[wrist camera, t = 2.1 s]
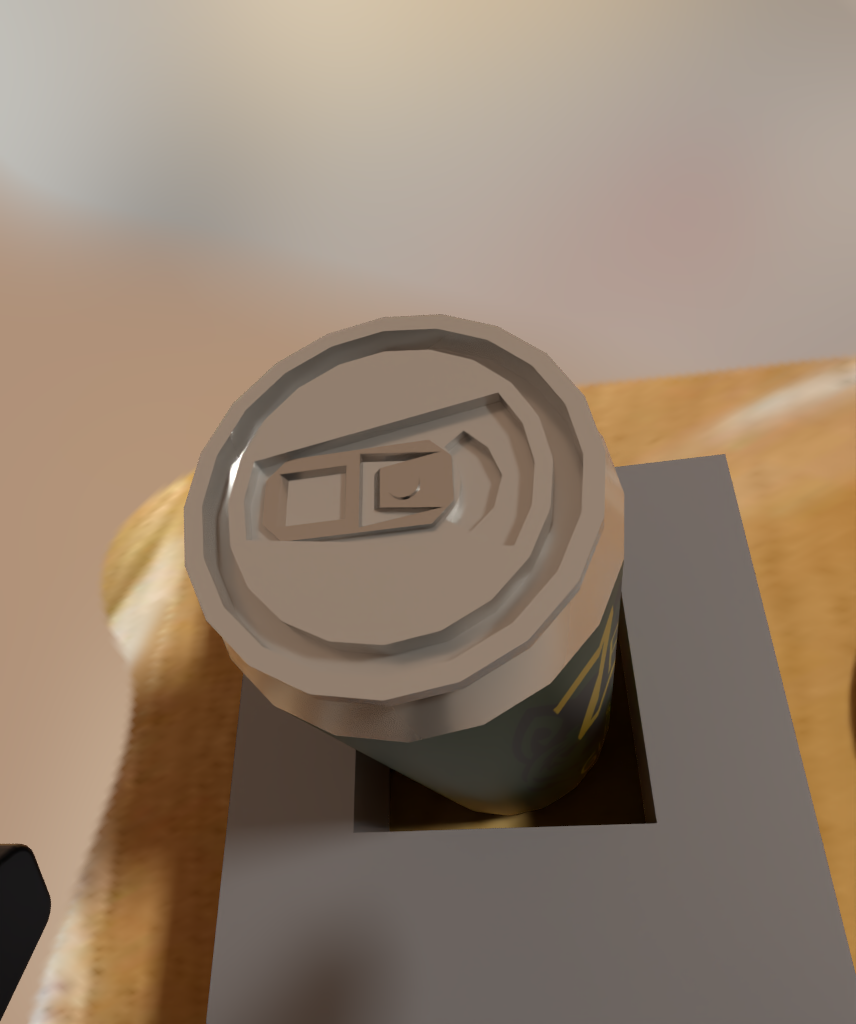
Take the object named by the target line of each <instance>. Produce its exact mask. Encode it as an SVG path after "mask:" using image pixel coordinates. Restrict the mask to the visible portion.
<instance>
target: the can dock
mask: <svg viewBox="0 0 856 1024" xmlns="http://www.w3.org/2000/svg"><path fill="white" fill-rule="evenodd" d="M614 468H615V470H616V473H617V476H618V478H619V481H620V483H621V486H622V489H623V491H624V565H623V576H622V588H621V599H620V610H619V622H618V636H619V643H620V650H621V657H622V663H623V670H624V677H625V684H626V691H627V697H628V704H629V711H630V718H631V725H632V731H633V738H634V745H635V752H636V758H637V765H638V772H639V779H640V786H641V792H642V799H643V806H644V813H645V820H646V824H619V825H587V826H556V827H524V828H492V829H461V830H429V831H398V832H389V817H390V768H389V767H388V766H386V765H384V764H382V763H380V762H378V761H376V760H375V759H373V758H371V757H369V756H367V755H365V754H363V753H361V752H360V751H358V750H356V749H354V748H352V747H350V746H348V745H346V744H345V743H343V742H341V741H339V740H337V739H335V738H333V737H332V736H330V735H328V734H326V733H324V732H322V731H320V730H318V729H317V728H315V727H313V726H311V725H309V724H307V723H305V722H304V721H302V720H300V719H298V718H296V717H294V716H292V715H290V714H289V713H287V712H285V711H283V710H281V709H279V708H277V707H275V706H274V705H273V704H272V703H271V702H270V701H269V700H268V699H267V698H266V697H265V696H264V695H263V693H262V692H261V691H260V690H259V689H258V688H257V687H256V686H255V685H254V684H253V683H252V682H251V681H250V679H249V678H248V677H247V676H246V675H245V674H244V673H243V680H242V689H241V698H240V708H239V717H238V727H237V736H236V746H235V755H234V764H233V774H232V783H231V793H230V802H229V811H228V821H227V830H226V840H225V849H224V858H223V868H222V877H221V887H220V896H219V906H218V915H217V924H216V934H215V943H214V953H213V962H212V971H211V981H210V990H209V1000H208V1009H207V1019H206V1024H856V974H855V970H854V966H853V962H852V958H851V954H850V950H849V946H848V942H847V938H846V934H845V930H844V926H843V922H842V918H841V914H840V910H839V906H838V902H837V898H836V894H835V890H834V886H833V882H832V878H831V874H830V870H829V866H828V862H827V859H826V855H825V851H824V847H823V843H822V839H821V835H820V831H819V827H818V823H817V819H816V815H815V811H814V807H813V803H812V799H811V795H810V791H809V787H808V783H807V779H806V775H805V771H804V767H803V763H802V759H801V755H800V751H799V747H798V743H797V739H796V735H795V731H794V727H793V723H792V719H791V715H790V711H789V707H788V703H787V699H786V695H785V691H784V687H783V683H782V679H781V675H780V671H779V667H778V663H777V659H776V655H775V651H774V647H773V643H772V639H771V635H770V631H769V627H768V623H767V620H766V616H765V612H764V608H763V604H762V600H761V596H760V592H759V588H758V584H757V580H756V576H755V572H754V568H753V564H752V560H751V556H750V552H749V548H748V544H747V540H746V536H745V532H744V528H743V524H742V520H741V516H740V512H739V508H738V504H737V500H736V496H735V492H734V488H733V484H732V480H731V476H730V472H729V468H728V464H727V460H726V456H725V454H722V455H714V456H705V457H697V458H688V459H680V460H672V461H663V462H655V463H646V464H638V465H629V466H621V467H614Z"/></svg>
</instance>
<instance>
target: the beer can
mask: <svg viewBox="0 0 856 1024" xmlns="http://www.w3.org/2000/svg"><path fill="white" fill-rule="evenodd" d="M184 543H185V567H186V570H187V572H188V575H189V578H190V580H191V583H192V585H193V588H194V590H195V593H196V596H197V598H198V601H199V603H200V606H201V608H202V611H203V614H204V616H205V619H206V621H207V622H208V623H209V624H210V625H211V626H212V627H213V628H214V629H215V630H216V631H217V632H218V633H219V635H220V636H221V637H222V638H223V641H224V643H225V646H226V649H227V651H228V654H229V656H230V659H231V660H232V661H233V662H234V663H235V664H236V665H237V666H238V668H239V669H240V670H241V671H242V672H243V673H244V674H245V675H246V676H247V677H248V678H249V679H250V681H251V682H252V683H253V684H254V685H255V686H256V687H257V688H258V689H259V690H260V691H261V692H262V693H263V695H264V696H265V697H266V698H267V699H268V700H269V701H270V702H271V703H272V704H273V705H274V706H275V707H277V708H279V709H281V710H283V711H285V712H287V713H289V714H290V715H292V716H294V717H296V718H298V719H300V720H302V721H304V722H305V723H307V724H309V725H311V726H313V727H315V728H317V729H318V730H320V731H322V732H324V733H326V734H328V735H330V736H332V737H333V738H335V739H337V740H339V741H341V742H343V743H345V744H346V745H348V746H350V747H352V748H354V749H356V750H358V751H360V752H361V753H363V754H365V755H367V756H369V757H371V758H373V759H375V760H376V761H378V762H380V763H382V764H384V765H386V766H388V767H389V768H391V769H393V770H395V771H397V772H399V773H401V774H403V775H404V776H406V777H408V778H410V779H412V780H414V781H416V782H417V783H419V784H421V785H423V786H425V787H427V788H429V789H431V790H432V791H434V792H436V793H438V794H440V795H442V796H444V797H446V798H448V799H450V800H452V801H454V802H456V803H458V804H460V805H462V806H464V807H466V808H468V809H470V810H472V811H475V812H483V813H492V814H500V815H508V816H510V815H515V814H519V813H524V812H528V811H533V810H537V809H541V808H545V807H547V806H548V805H550V804H551V803H553V802H555V801H556V800H558V799H559V798H561V797H562V796H564V795H566V794H567V793H569V792H570V791H572V790H574V789H575V788H576V787H577V785H578V784H579V783H580V782H581V780H582V779H583V778H584V777H585V775H586V774H587V773H588V772H589V770H590V769H591V768H592V766H593V765H594V764H595V763H596V761H597V760H598V757H599V754H600V751H601V749H602V746H603V743H604V740H605V737H606V734H607V731H608V729H609V723H610V712H611V701H612V689H613V678H614V667H615V655H616V644H617V633H618V622H619V610H620V599H621V588H622V576H623V565H624V491H623V489H622V486H621V483H620V481H619V478H618V476H617V473H616V470H615V468H614V465H613V462H612V460H611V457H610V454H609V452H608V449H607V446H606V444H605V441H604V439H603V436H602V435H601V434H600V433H599V432H598V430H597V428H596V425H595V422H594V420H593V417H592V414H591V412H590V409H589V406H588V404H587V401H586V398H585V396H584V395H583V394H582V393H581V391H580V390H579V389H578V388H577V387H576V386H575V385H574V384H573V382H572V381H571V380H570V379H569V378H568V377H567V376H566V375H565V373H564V372H563V371H562V370H561V369H560V368H559V367H558V366H557V365H556V363H555V362H554V361H553V360H552V359H551V358H550V357H549V356H548V355H547V354H546V353H545V352H543V351H541V350H539V349H537V348H536V347H534V346H532V345H530V344H528V343H527V342H525V341H523V340H521V339H520V338H518V337H516V336H514V335H512V334H510V333H509V332H507V331H505V330H503V329H501V328H500V327H498V326H494V325H489V324H484V323H480V322H475V321H470V320H466V319H461V318H456V317H451V316H447V315H441V314H438V315H421V316H420V315H419V316H401V317H383V318H380V319H376V320H373V321H370V322H366V323H363V324H360V325H356V326H353V327H350V328H346V329H343V330H340V331H336V332H333V333H329V334H327V335H325V336H323V337H322V338H320V339H318V340H317V341H315V342H313V343H311V344H309V345H307V346H306V347H304V348H302V349H300V350H299V351H297V352H295V353H293V354H292V355H290V356H288V357H286V358H285V359H283V360H281V361H280V362H278V363H276V364H275V365H274V366H273V367H272V368H271V369H270V370H268V371H267V372H266V373H265V374H264V375H263V376H262V377H261V378H260V379H259V380H258V381H257V382H256V383H255V384H253V385H252V386H251V387H250V388H249V389H248V390H247V391H246V392H245V393H244V394H243V395H242V396H241V397H239V398H238V399H237V400H236V401H235V402H234V403H233V404H232V406H231V407H230V409H229V410H228V412H227V414H226V415H225V417H224V418H223V420H222V421H221V423H220V424H219V426H218V427H217V429H216V431H215V432H214V434H213V435H212V437H211V438H210V440H209V441H208V443H207V445H206V446H205V447H204V449H203V451H202V452H201V455H200V458H199V461H198V464H197V467H196V471H195V474H194V477H193V480H192V484H191V487H190V490H189V493H188V497H187V500H186V503H185V506H184Z"/></svg>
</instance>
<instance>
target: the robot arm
mask: <svg viewBox="0 0 856 1024" xmlns="http://www.w3.org/2000/svg"><path fill="white" fill-rule="evenodd" d="M50 909H51V899H50V895H49V892H48V890H47V887H46V885H45V882H44V879H43V877H42V874H41V872H40V869H39V867H38V864H37V861H36V859H35V856H34V854H33V852H32V850H31V849H30V848H29V847H28V846H26V845H23V844H0V1021H1V1018H2V1016H3V1014H4V1012H5V1010H6V1008H7V1006H8V1004H9V1002H10V1000H11V998H12V995H13V993H14V991H15V989H16V987H17V985H18V983H19V981H20V979H21V977H22V974H23V972H24V970H25V968H26V966H27V964H28V962H29V960H30V958H31V956H32V953H33V951H34V949H35V947H36V945H37V943H38V941H39V939H40V937H41V935H42V932H43V930H44V928H45V926H46V924H47V922H48V919H49V915H50Z"/></svg>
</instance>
